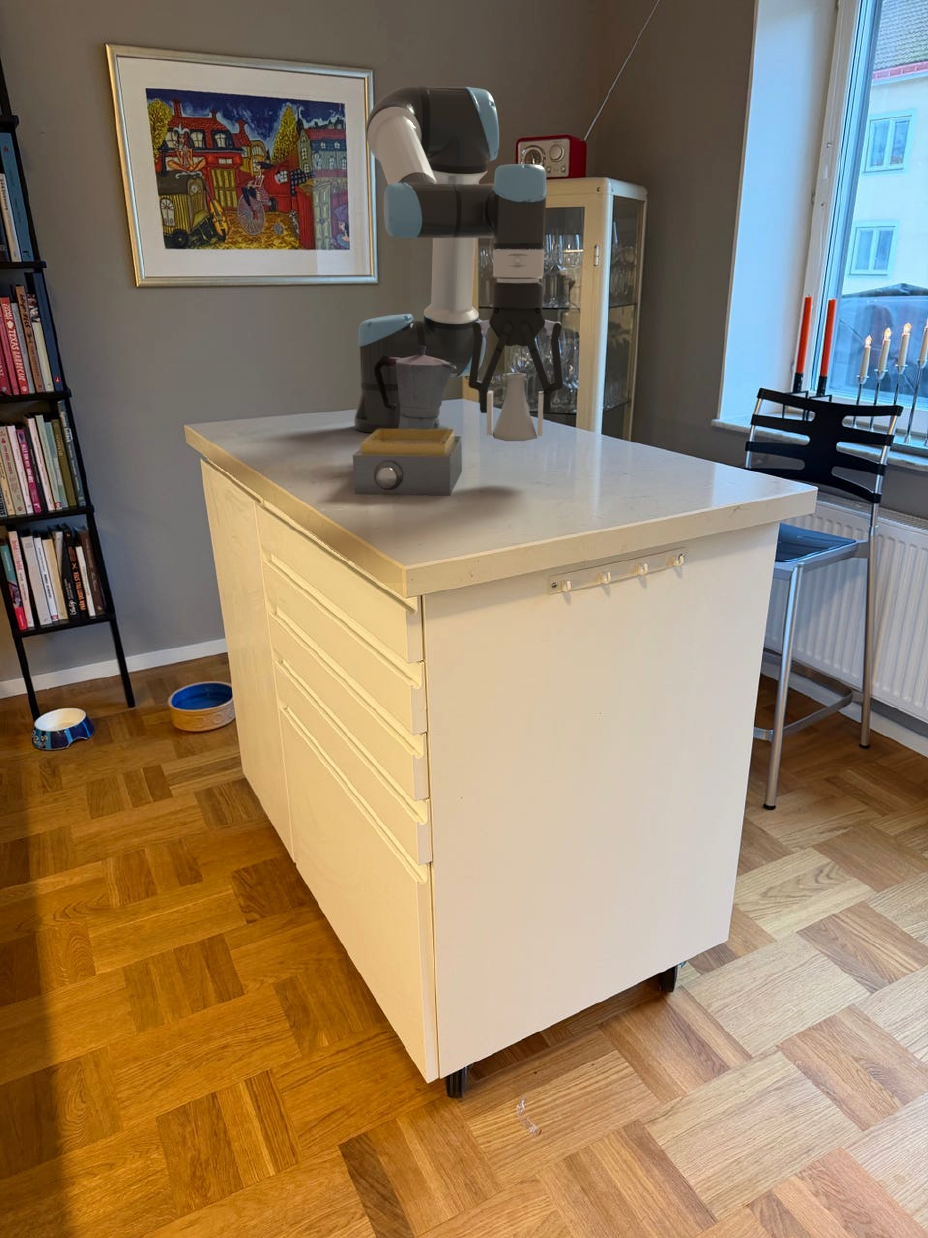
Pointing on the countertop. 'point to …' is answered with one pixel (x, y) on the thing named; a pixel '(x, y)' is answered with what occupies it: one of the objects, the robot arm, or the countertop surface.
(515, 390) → the flask
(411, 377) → the moka pot
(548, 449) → the countertop surface
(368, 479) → the plate
